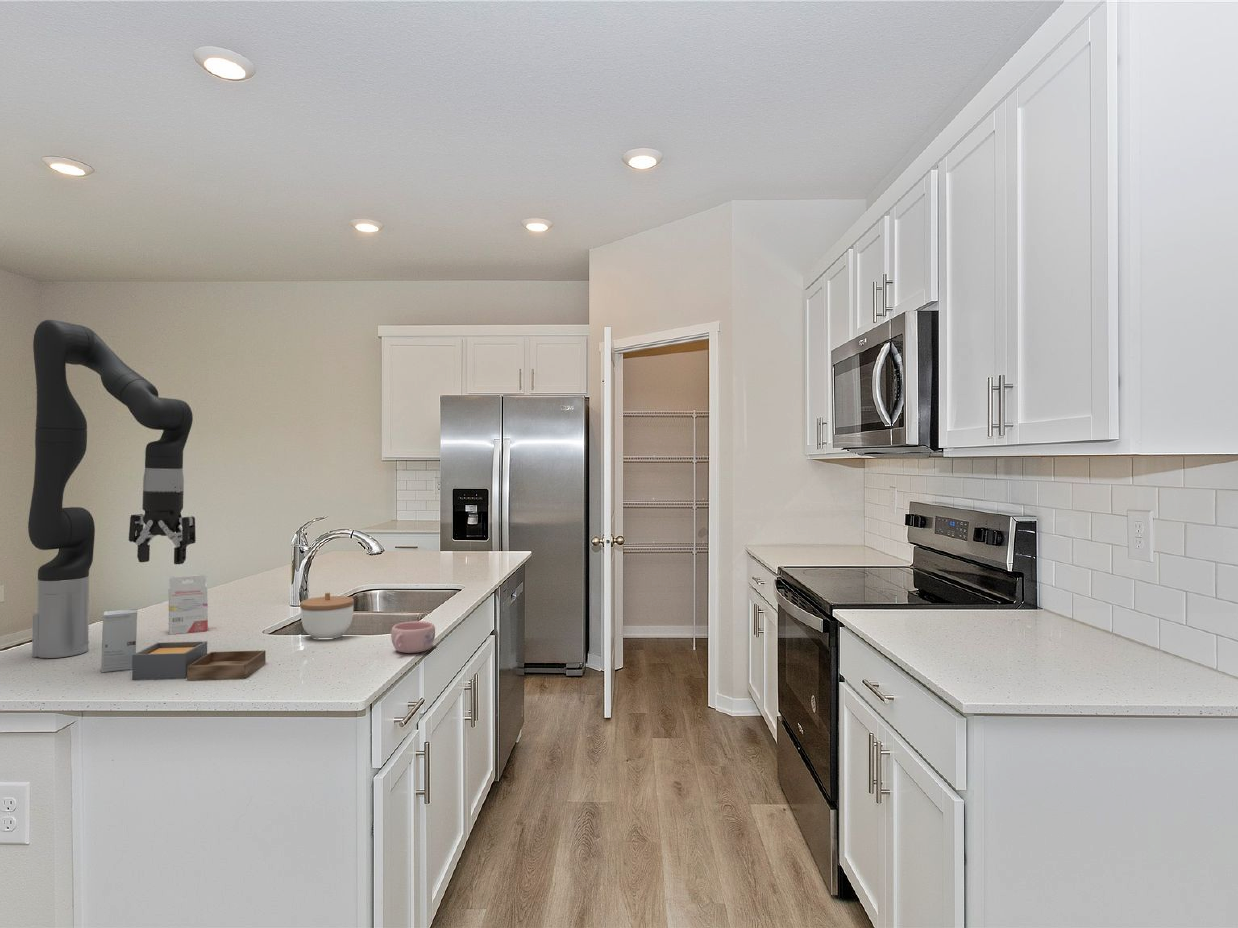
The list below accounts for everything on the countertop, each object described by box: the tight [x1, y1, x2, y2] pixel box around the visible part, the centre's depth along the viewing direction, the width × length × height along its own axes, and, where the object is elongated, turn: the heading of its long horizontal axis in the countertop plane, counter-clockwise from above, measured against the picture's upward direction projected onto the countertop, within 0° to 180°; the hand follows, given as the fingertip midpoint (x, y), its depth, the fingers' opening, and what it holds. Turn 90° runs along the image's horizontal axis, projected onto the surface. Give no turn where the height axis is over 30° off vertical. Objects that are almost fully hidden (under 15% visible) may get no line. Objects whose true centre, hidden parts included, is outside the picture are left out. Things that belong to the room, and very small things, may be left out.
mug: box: [390, 620, 436, 654], centre depth 166 cm, size 12×10×6 cm
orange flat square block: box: [149, 647, 194, 654], centre depth 148 cm, size 8×8×2 cm
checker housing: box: [131, 640, 208, 681], centre depth 148 cm, size 10×10×5 cm
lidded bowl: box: [299, 592, 355, 641], centre depth 179 cm, size 13×13×11 cm
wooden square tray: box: [186, 649, 267, 681], centre depth 149 cm, size 11×11×3 cm
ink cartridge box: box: [168, 574, 209, 635], centre depth 184 cm, size 9×5×15 cm, turn 117°
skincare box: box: [100, 608, 138, 673], centre depth 150 cm, size 6×4×12 cm
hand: (161, 562), depth 155 cm, fingers open, 8 cm apart
